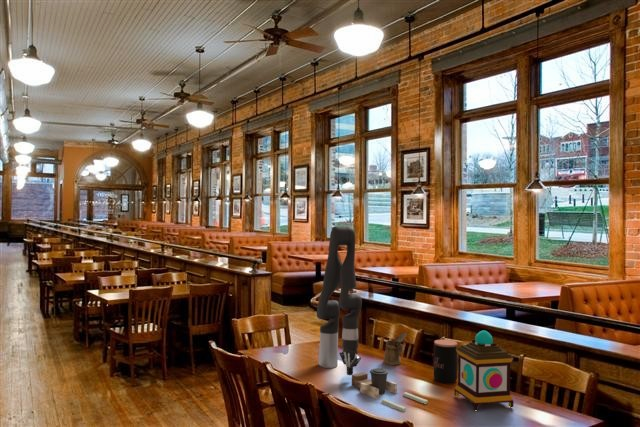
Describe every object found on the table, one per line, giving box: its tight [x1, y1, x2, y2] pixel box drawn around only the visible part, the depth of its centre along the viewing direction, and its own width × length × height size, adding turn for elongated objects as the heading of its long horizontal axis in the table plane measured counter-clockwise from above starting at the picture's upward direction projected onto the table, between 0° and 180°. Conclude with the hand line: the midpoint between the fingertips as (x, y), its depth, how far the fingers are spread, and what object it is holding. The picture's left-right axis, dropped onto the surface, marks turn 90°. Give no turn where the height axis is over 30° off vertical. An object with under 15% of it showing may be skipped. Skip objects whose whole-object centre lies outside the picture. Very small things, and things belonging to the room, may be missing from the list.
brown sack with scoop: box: [383, 331, 407, 366], centre depth 262 cm, size 9×14×18 cm, turn 35°
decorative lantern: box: [454, 330, 515, 411], centre depth 210 cm, size 20×20×30 cm
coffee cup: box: [369, 367, 389, 396], centre depth 219 cm, size 8×8×10 cm
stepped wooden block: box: [359, 379, 398, 400], centre depth 219 cm, size 10×12×4 cm
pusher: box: [351, 371, 372, 389], centre depth 226 cm, size 9×7×5 cm
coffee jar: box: [433, 339, 458, 385], centre depth 237 cm, size 11×11×18 cm
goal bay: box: [381, 391, 429, 413], centre depth 208 cm, size 12×15×1 cm
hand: (349, 374), depth 234 cm, fingers closed
